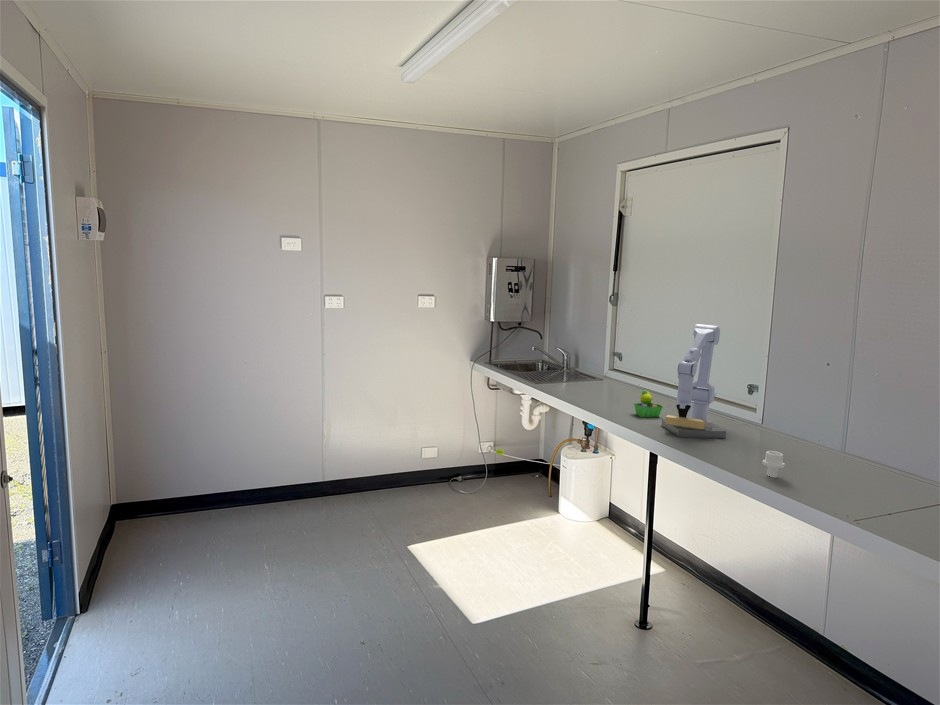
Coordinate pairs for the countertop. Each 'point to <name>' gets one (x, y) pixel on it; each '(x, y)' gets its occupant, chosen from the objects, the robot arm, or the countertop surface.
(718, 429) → the plate
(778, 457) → the pipe fitting
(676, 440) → the countertop surface
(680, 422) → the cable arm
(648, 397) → the fruit basket
